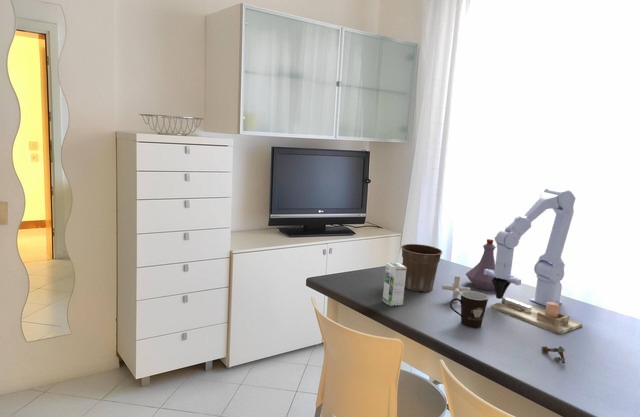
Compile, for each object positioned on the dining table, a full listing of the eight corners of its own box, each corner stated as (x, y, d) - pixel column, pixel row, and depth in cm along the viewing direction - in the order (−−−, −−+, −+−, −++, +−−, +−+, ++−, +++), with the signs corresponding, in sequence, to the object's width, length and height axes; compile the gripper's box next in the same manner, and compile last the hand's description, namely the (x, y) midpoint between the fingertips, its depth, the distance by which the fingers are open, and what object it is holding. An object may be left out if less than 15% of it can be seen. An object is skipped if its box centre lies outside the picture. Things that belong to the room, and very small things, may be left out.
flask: (482, 278, 208) (487, 234, 205) (514, 290, 195) (520, 243, 191) (455, 282, 200) (460, 236, 197) (487, 295, 186) (493, 246, 183)
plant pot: (443, 287, 193) (447, 248, 190) (430, 297, 180) (434, 256, 177) (406, 278, 202) (410, 241, 199) (391, 287, 188) (394, 248, 185)
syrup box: (381, 300, 173) (385, 262, 170) (396, 299, 175) (399, 262, 172) (388, 306, 167) (392, 267, 165) (403, 305, 169) (407, 266, 167)
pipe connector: (469, 307, 171) (472, 281, 169) (441, 304, 173) (444, 278, 171) (467, 298, 180) (469, 273, 179) (440, 295, 182) (442, 270, 181)
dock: (513, 301, 181) (514, 292, 180) (581, 326, 159) (583, 316, 159) (490, 307, 173) (491, 298, 172) (559, 334, 152) (560, 324, 151)
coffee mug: (484, 321, 158) (488, 293, 157) (484, 331, 150) (488, 301, 149) (449, 315, 162) (452, 287, 160) (447, 324, 154) (450, 295, 152)
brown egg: (548, 317, 163) (550, 301, 162) (559, 321, 160) (562, 305, 159) (541, 319, 161) (544, 303, 159) (553, 324, 157) (555, 307, 156)
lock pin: (504, 302, 176) (505, 297, 175) (531, 312, 167) (531, 306, 167) (501, 303, 175) (502, 297, 174) (527, 313, 166) (528, 307, 166)
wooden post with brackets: (564, 363, 130) (561, 346, 131) (543, 362, 137) (541, 346, 138) (569, 363, 130) (566, 346, 131) (548, 361, 137) (546, 345, 139)
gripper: (480, 259, 178) (476, 293, 180) (514, 269, 166) (509, 306, 168) (492, 257, 182) (488, 290, 184) (526, 267, 170) (521, 303, 172)
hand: (499, 298), depth 177 cm, fingers closed
